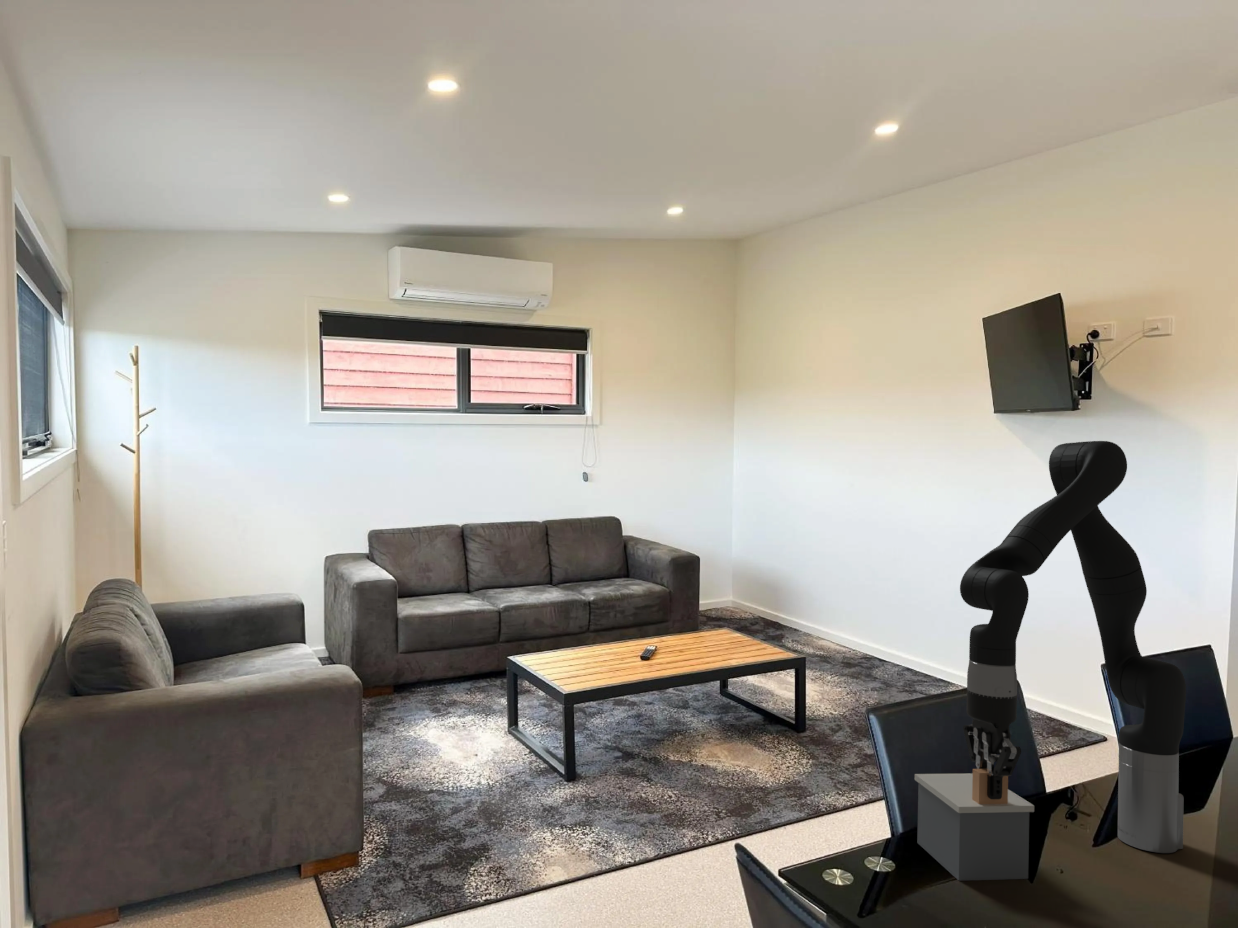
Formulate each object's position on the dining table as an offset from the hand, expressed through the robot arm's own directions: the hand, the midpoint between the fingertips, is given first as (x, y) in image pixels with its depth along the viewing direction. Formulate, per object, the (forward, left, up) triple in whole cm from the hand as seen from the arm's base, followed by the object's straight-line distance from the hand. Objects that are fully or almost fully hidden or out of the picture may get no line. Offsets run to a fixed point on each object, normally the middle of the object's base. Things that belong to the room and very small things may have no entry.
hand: (989, 794), depth 135 cm
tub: (0, -6, -13) cm, 14 cm away
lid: (0, -5, -3) cm, 6 cm away
